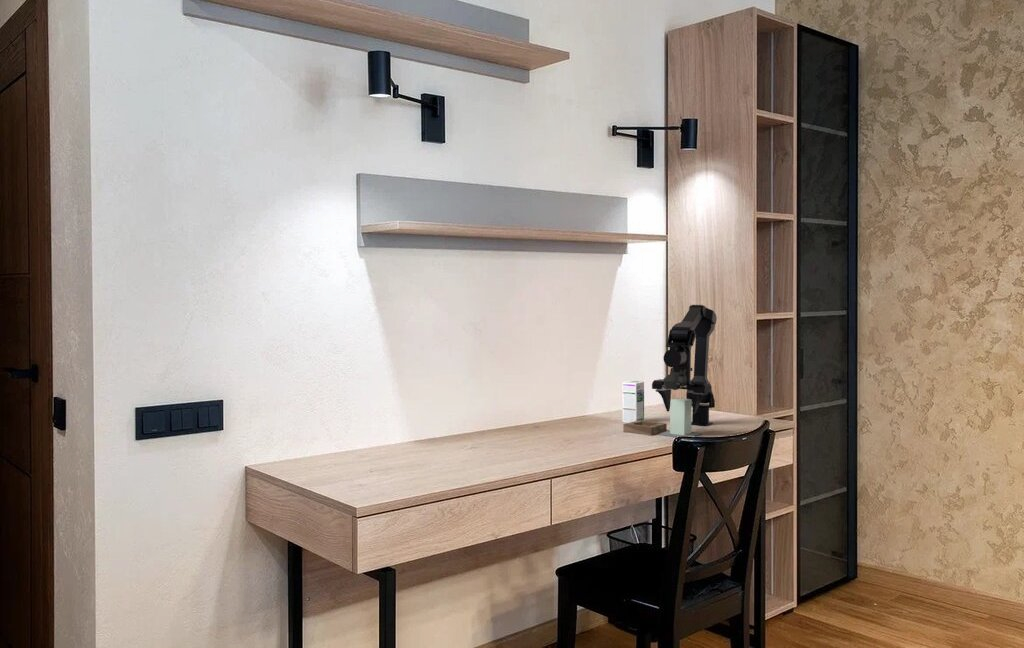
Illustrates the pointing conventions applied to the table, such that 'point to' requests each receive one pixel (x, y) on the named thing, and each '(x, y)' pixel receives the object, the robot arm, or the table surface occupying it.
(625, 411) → the syrup box
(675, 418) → the sage block
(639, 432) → the pocket block
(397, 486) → the table surface
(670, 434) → the mat
